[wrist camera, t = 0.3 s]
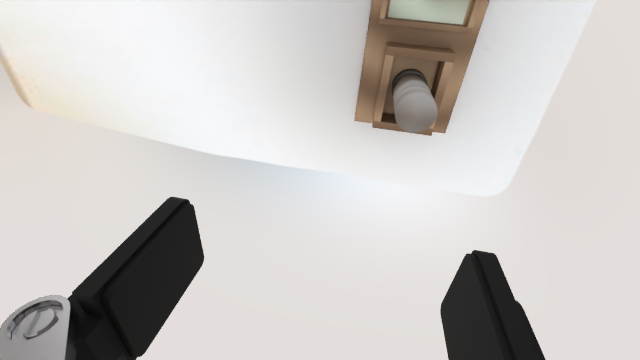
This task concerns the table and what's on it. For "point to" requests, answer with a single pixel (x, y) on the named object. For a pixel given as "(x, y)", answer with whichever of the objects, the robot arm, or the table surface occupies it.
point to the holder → (416, 62)
